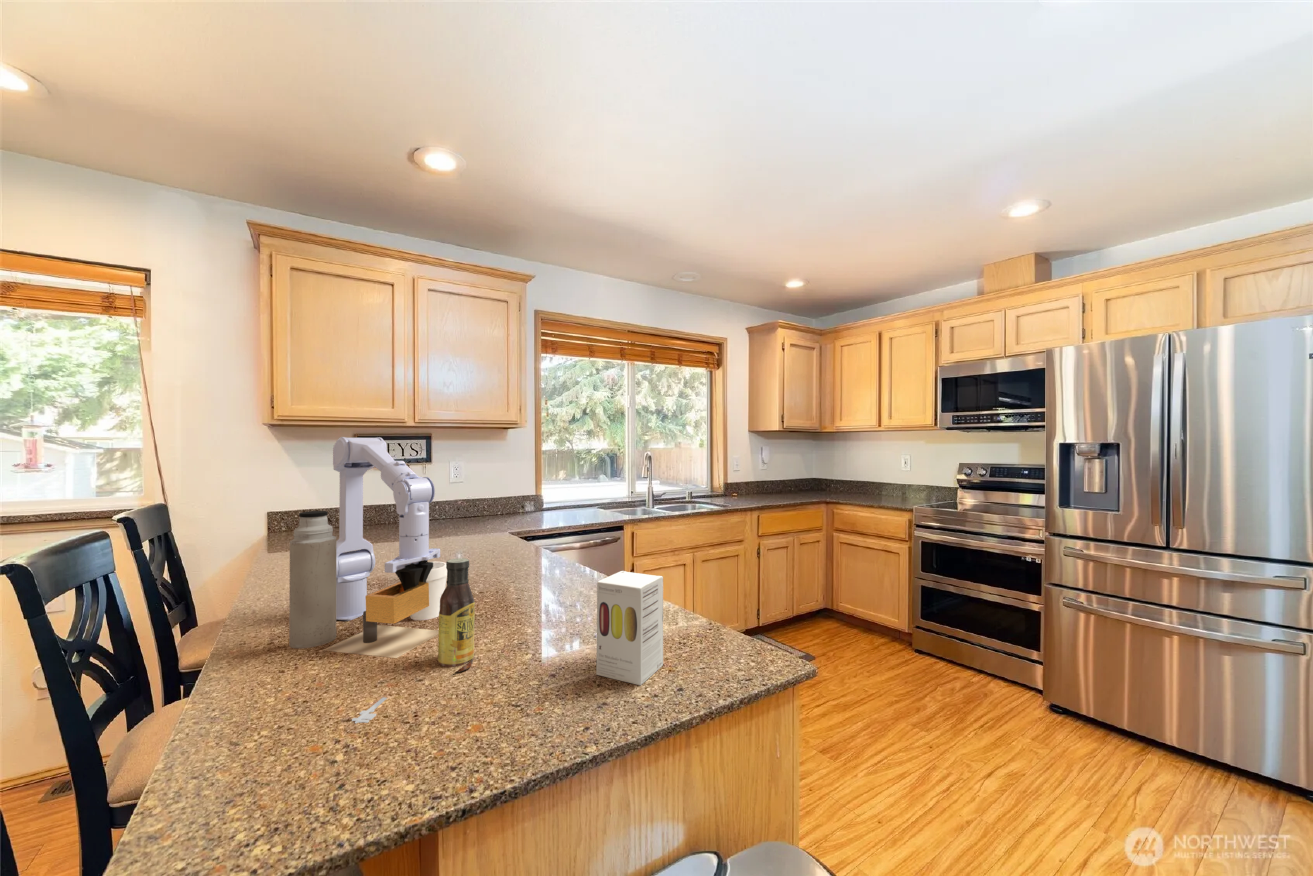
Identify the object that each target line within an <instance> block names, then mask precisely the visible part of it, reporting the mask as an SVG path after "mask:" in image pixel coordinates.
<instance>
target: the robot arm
mask: <svg viewBox="0 0 1313 876" xmlns="http://www.w3.org/2000/svg"><path fill="white" fill-rule="evenodd" d="M387 447H388V446H387V442H386V441H385V440H384V439H383V438H382V437H380V436H379V437H378V436H377V437H346V436H340V437H339V438H338V439H337V440H336V441H335V443H334V445H333V448H332V466H333V468H332V469H333V470H334V471H335V472H338V473H339V503H338V504H339V510H338V511H339V513H338V514H339V517H338V518H339V521H338V522H339V526H338V527H339V528H338V529H339V533H338V534H339V535H338V536H339V537H338V538H337V539H336V621H337V620H339V621H346V622H347V621H350V622H351V621H352V620H355V619H357V618H360V617H363V616H362V615H363V612H364V611H366V595H368V593H367V592H368V590H367V589H368V587H367V585H368V582H367V581H368V579H367V578H368V577H371V576H370V575H371V574H370V573H372V572H373V570H374V569H375V567H376V556H375V552H374V545H373V544H372V543H371V542H370V541H369V540H367V539H366V538H364V528H363V527H364V475H365V474H366V472H368V470H372V469H374V468H376V469H377V470H378V471H379V472H380V478H381V479H380V480H382V482H383V483H384V484H385V485H387V487H388V488H389V489H390V490H391V491H392V495H393V501H394V503H395V507H396V509H395V510H396V514H397V515H398V516H399V517H398V520H399V521H398V525H399V526H398V527H399V528H398V529H399V530H398V532H399V534H398V535H399V537H398V541H399V542H398V548H399V549H398V553H399V554H398V556H396V557H394V558H392V559H391V560H389V561H386V562H384V573H391V574H394V573H395V575H396V576H397V578H398V580H399V582H401V584H402V586H403V589H404V591H406V590H408V589H410V588H413V587H415V586H417V585H419V582H426V580H427V577H428V575H429V573H430V571H431V569H432V568H433V562H434V561H429V560H432V559H439V558H441V548H437V547H436V548H434V547H432V548H430V504H431V503H432V502H433V501H434V499H435V495H436V493H435V492H436V488H435V484H434V481H433V480H432V479H431V477H428V476H419V475H418V474H417V473H416V472H414V471H413V470H412V468H410V467H409V466H408V465H407V464H406V462H405V461H404V460H395V459H394V458H393V457H392V456H391V455H390V453H389V452H388V448H387Z"/></svg>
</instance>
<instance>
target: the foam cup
mask: <svg viewBox="0 0 1313 876" xmlns="http://www.w3.org/2000/svg"><path fill="white" fill-rule="evenodd" d="M432 562H433V568H432V569H431V571H430V573H429V575H428V577H427V580H426V582H428V583H429V606H428V607H426V608H424V609H422V610H420V611H418V612H416V613H414V614H412V615H410V616H409V617H410V620H414V621H427V620H428V621H429V620H432V619H436V618H439V611H440V598H441V595H442V594H443V592H444V590H445V588H446V587H447V568H446V562H443V561H432Z"/></svg>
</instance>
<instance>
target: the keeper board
mask: <svg viewBox="0 0 1313 876" xmlns="http://www.w3.org/2000/svg"><path fill="white" fill-rule="evenodd" d="M362 619H363V620H362V632H359V633H357V634H355V635H353V636H351V637H348V638H346V639H344V640H341V641H339V642H337V643H335V644H333V645H331V646H328V647H326V648H324V649H323V651H326V652H335V653H344V654H345V653H346V654H351V655H353V654H354V655H364V656H373V657H382V658H391V659H397V658H399V657H402V656H403V655H405V654H407V653H408V652H410V651H412V650H414V649H415V648H417V647H419V646H421V645H423V644H424V643H425V642H428V641H430V640H431V639H433V638H435V637H437V636H439V629H438V630H435V629H426V628H416V627H415V628H413V627H403V626H393V625H381V624H378V622H370V621H366V611H364V612H363V616H362Z"/></svg>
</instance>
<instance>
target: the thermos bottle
mask: <svg viewBox="0 0 1313 876" xmlns="http://www.w3.org/2000/svg"><path fill="white" fill-rule="evenodd" d="M328 515H329V512H328V511H327V510H312V511H311V510H309V511H303V512H299V513H298V517H299V520H298V521H299V523H298V527H296V528H294V530H293V534H292V535H293V539H291V540H290V541H289V604H288V605H289V610H288V611H289V616H288V617H289V622H288V623H289V628H288V629H289V637H288V638H289V639H288V641H289V644H288V646H289V647H290V648H292V649H308V648H309V649H311V648H315V647H319V646H323V645H326V644H329V643H331V642H333V641H334V640H335V639H336V638H337V620H336V541H337V536H335V535H333V533H334V532H333V531H334V529H333V526H332V525H331V524H329V522H328V521H329V519H328Z"/></svg>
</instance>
